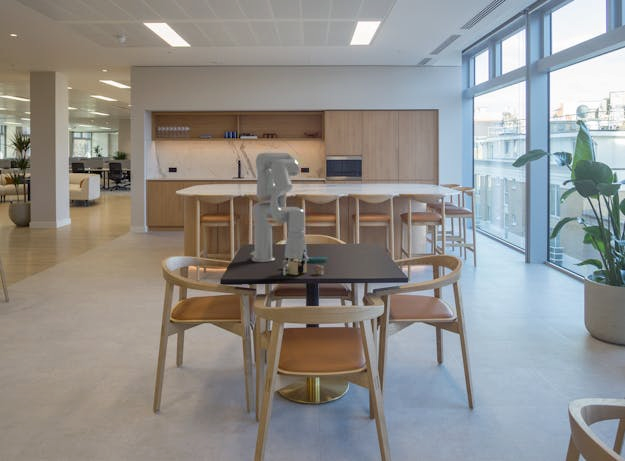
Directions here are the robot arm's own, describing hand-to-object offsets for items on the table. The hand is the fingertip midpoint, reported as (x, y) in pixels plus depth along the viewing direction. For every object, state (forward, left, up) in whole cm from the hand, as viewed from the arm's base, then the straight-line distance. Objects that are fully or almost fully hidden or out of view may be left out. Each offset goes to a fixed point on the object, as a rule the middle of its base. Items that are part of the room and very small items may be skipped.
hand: (296, 272), depth 279 cm
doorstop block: (0, +1, -1) cm, 1 cm away
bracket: (-17, +31, -2) cm, 35 cm away
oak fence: (-3, +7, -1) cm, 8 cm away
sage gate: (-5, 0, -1) cm, 5 cm away
